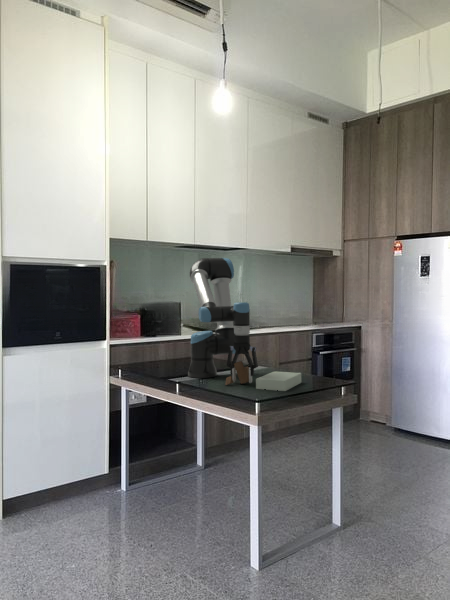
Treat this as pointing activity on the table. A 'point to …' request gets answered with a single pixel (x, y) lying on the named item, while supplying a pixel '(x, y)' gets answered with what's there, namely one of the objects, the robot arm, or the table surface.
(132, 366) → the table surface
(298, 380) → the sage base block
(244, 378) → the wooden block set
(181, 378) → the table surface
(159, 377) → the table surface
